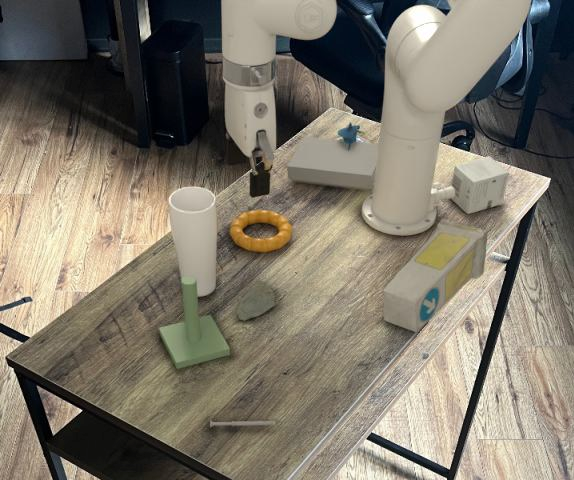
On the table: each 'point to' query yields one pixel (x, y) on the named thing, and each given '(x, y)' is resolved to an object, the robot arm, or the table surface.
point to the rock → (256, 302)
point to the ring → (260, 217)
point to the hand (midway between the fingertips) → (247, 179)
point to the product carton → (479, 184)
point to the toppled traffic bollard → (435, 274)
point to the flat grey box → (334, 163)
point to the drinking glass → (195, 235)
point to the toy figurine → (350, 133)
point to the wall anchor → (243, 423)
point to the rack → (193, 332)
